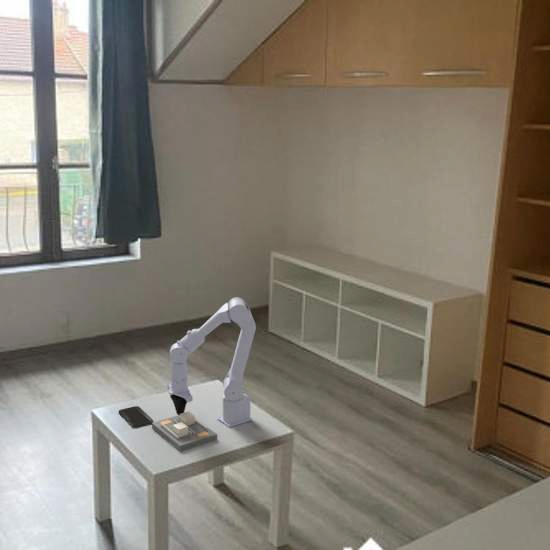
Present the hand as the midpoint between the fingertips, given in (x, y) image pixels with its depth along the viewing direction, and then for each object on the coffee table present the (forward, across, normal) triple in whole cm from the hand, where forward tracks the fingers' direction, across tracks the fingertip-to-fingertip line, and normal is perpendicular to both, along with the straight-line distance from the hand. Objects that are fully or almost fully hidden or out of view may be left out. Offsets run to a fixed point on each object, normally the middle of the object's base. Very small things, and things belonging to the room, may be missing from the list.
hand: (180, 414), depth 253 cm
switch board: (+3, +8, -3) cm, 9 cm away
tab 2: (+1, +11, -6) cm, 13 cm away
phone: (+4, -13, -11) cm, 17 cm away
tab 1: (+1, +5, 0) cm, 5 cm away
